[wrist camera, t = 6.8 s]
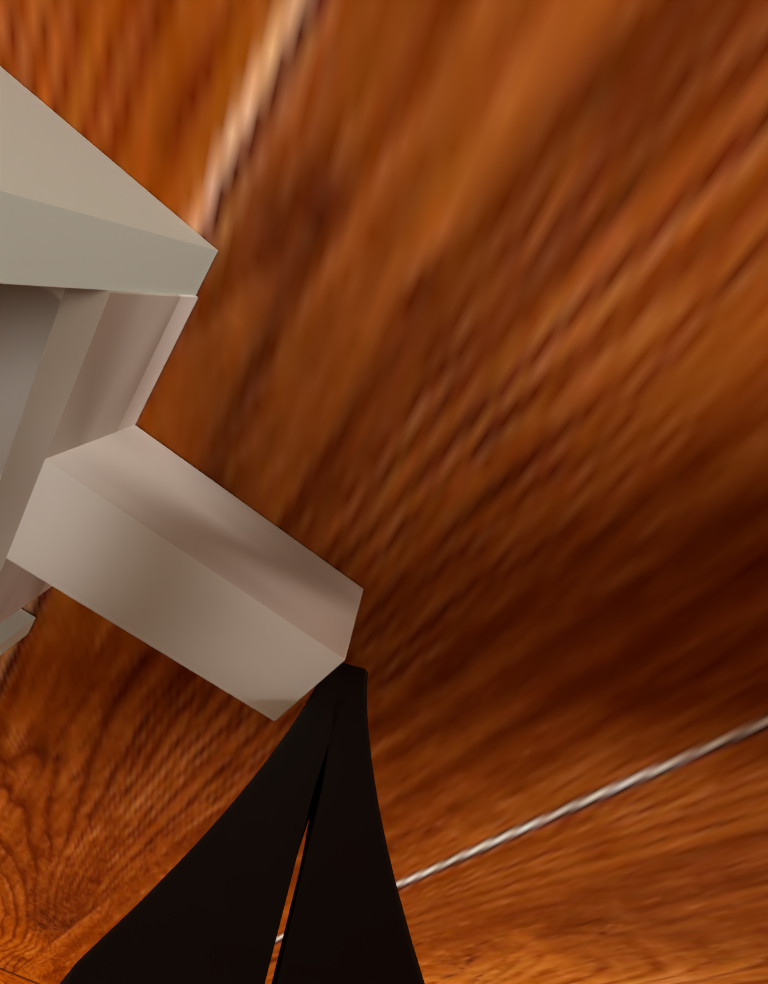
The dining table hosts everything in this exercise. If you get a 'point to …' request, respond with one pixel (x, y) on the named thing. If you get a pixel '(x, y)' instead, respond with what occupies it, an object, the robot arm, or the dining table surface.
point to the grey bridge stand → (80, 225)
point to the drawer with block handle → (146, 506)
